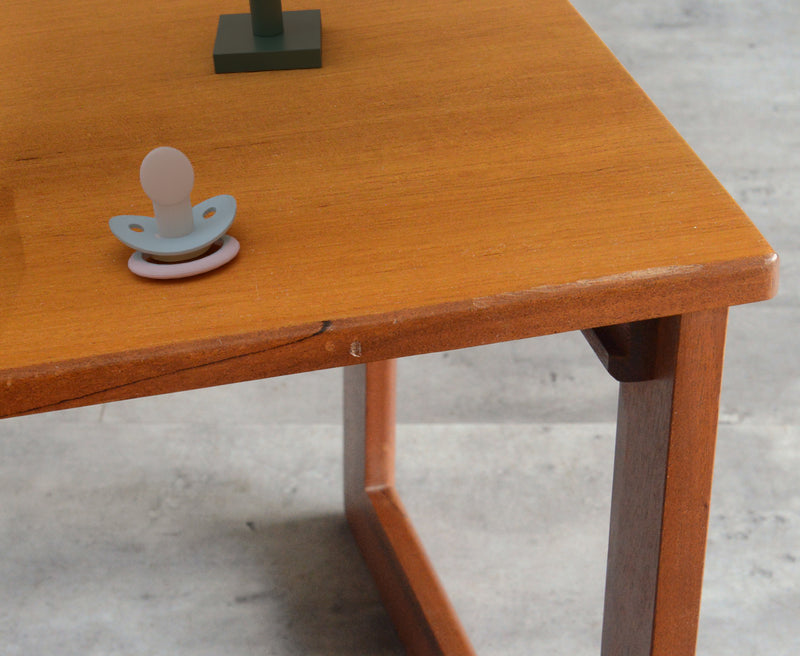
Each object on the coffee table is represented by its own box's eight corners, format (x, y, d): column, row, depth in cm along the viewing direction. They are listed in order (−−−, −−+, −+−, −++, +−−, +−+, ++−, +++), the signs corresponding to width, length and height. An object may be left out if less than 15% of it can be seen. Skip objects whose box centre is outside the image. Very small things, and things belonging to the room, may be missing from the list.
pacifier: (256, 270, 68) (232, 217, 72) (244, 173, 64) (219, 123, 68) (128, 297, 66) (111, 242, 70) (107, 199, 62) (90, 147, 66)
